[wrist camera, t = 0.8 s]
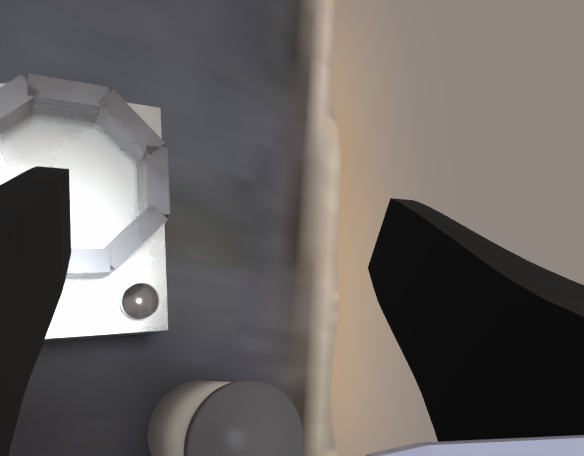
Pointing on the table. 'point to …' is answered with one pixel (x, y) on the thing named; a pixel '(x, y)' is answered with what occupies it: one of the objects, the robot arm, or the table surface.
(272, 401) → the lens
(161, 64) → the table surface
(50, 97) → the square housing with collar
